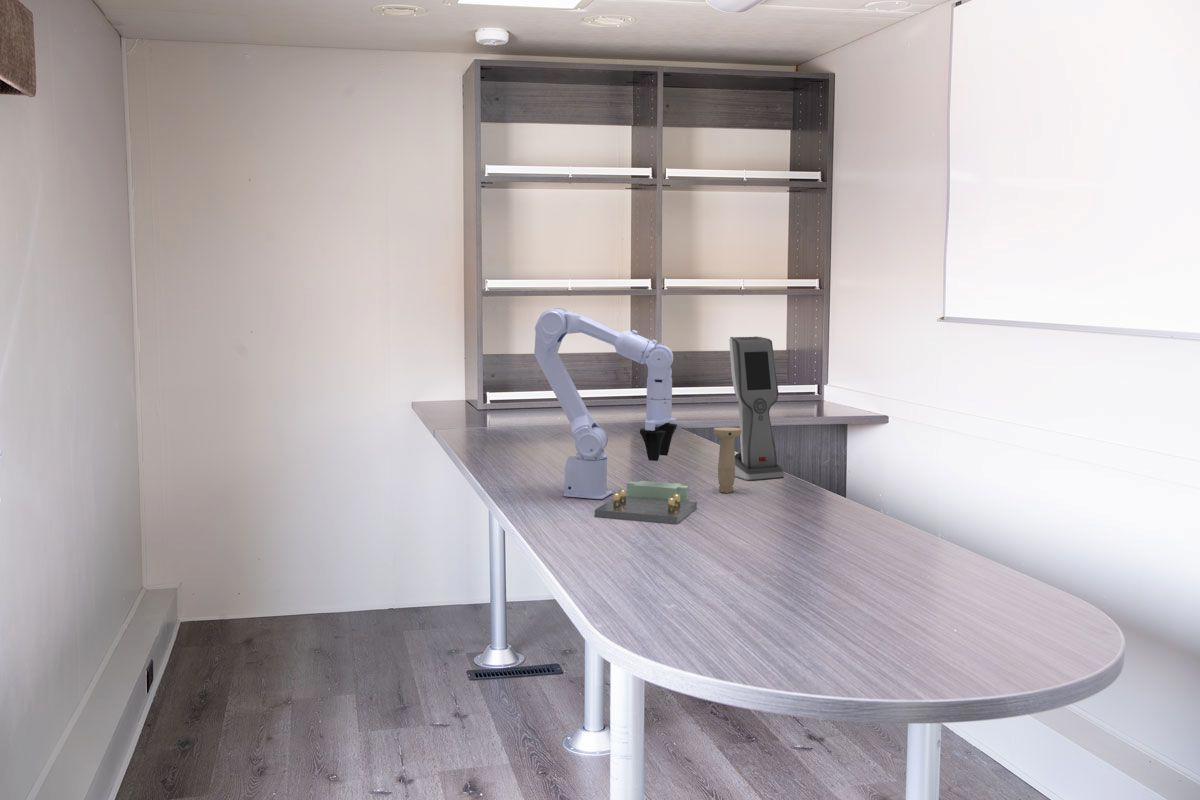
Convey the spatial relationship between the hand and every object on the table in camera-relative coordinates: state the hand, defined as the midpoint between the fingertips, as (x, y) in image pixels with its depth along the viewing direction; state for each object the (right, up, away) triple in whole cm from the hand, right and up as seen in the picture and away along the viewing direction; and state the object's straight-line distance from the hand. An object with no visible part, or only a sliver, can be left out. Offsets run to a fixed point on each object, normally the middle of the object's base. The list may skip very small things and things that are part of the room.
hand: (658, 457), depth 249 cm
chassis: (-3, -11, -14) cm, 18 cm away
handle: (+17, -9, +9) cm, 21 cm away
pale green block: (0, -9, +1) cm, 9 cm away
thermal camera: (+26, -6, +30) cm, 40 cm away
